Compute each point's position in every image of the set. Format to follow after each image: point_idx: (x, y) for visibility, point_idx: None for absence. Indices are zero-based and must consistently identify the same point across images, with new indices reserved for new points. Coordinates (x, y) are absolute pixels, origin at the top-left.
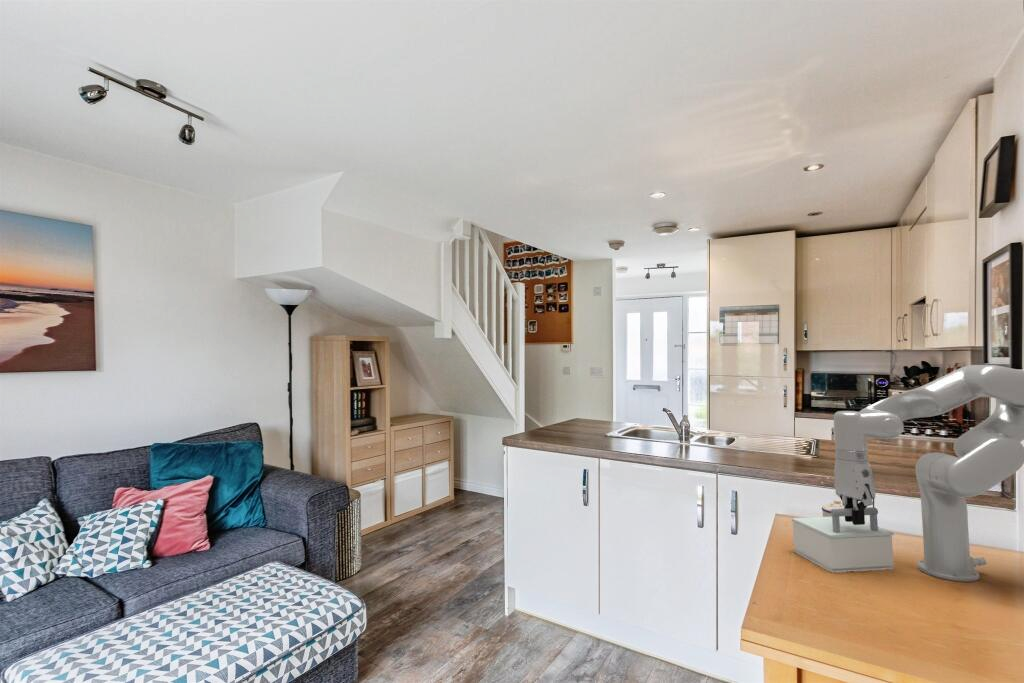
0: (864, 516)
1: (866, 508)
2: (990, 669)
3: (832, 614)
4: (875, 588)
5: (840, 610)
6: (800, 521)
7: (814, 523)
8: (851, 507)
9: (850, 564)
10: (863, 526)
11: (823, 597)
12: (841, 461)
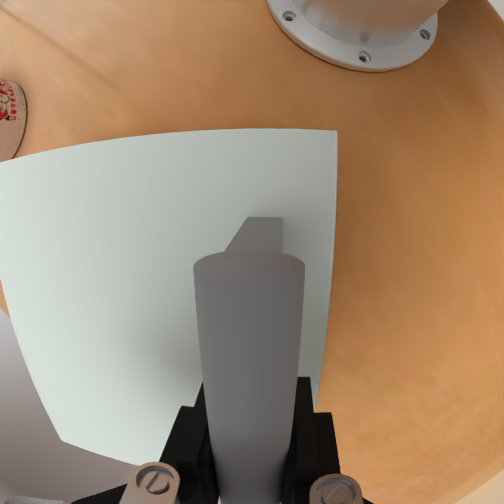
0: (312, 416)
1: (264, 416)
2: None
3: (446, 463)
4: (418, 342)
5: (446, 451)
6: (98, 451)
7: (118, 433)
8: (201, 486)
9: None
10: (168, 242)
11: (400, 457)
12: None
